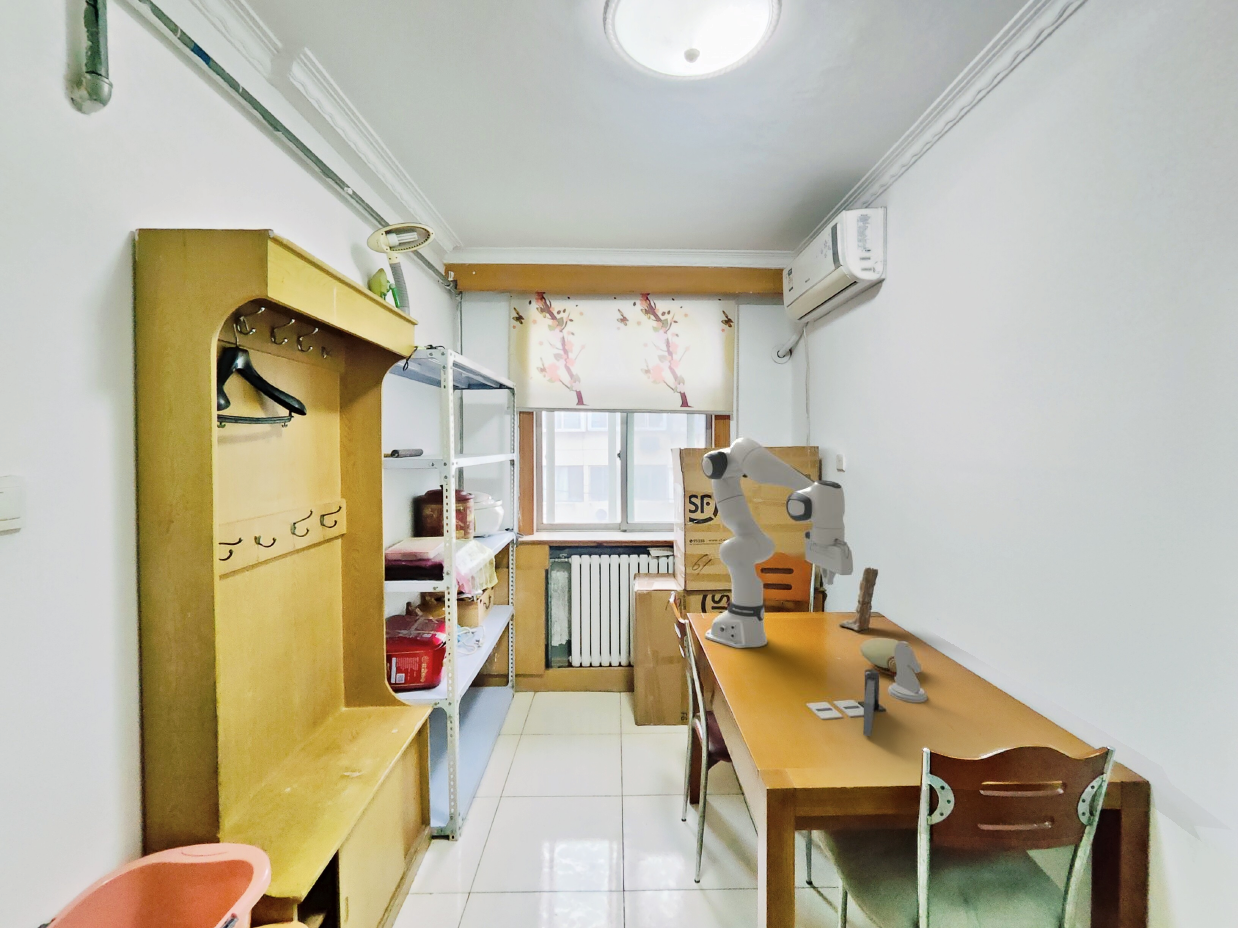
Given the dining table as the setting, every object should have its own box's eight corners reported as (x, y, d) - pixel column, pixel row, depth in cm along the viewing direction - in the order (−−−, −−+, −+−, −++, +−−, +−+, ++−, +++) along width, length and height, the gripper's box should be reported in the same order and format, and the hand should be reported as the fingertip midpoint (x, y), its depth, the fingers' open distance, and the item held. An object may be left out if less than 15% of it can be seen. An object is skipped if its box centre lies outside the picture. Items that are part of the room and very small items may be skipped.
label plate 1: (826, 703, 149) (826, 701, 149) (842, 717, 141) (842, 715, 141) (806, 704, 148) (806, 703, 148) (821, 719, 140) (821, 717, 140)
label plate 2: (853, 701, 150) (853, 699, 150) (870, 715, 142) (870, 713, 142) (833, 702, 149) (833, 701, 149) (849, 716, 141) (849, 715, 141)
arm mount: (874, 701, 149) (874, 700, 149) (885, 710, 144) (885, 708, 144) (857, 703, 149) (857, 701, 149) (868, 712, 144) (868, 710, 144)
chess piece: (909, 705, 148) (910, 651, 147) (880, 690, 157) (881, 639, 156) (935, 698, 151) (935, 646, 151) (904, 684, 160) (905, 635, 160)
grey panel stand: (864, 700, 149) (865, 668, 149) (879, 703, 147) (879, 671, 147) (859, 734, 132) (859, 698, 131) (875, 737, 130) (875, 701, 130)
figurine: (847, 625, 218) (853, 563, 220) (873, 631, 211) (879, 568, 213) (834, 626, 210) (840, 562, 212) (860, 633, 203) (867, 567, 205)
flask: (906, 660, 178) (925, 686, 160) (855, 657, 181) (868, 682, 163) (907, 633, 177) (926, 656, 160) (855, 630, 180) (869, 652, 163)
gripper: (859, 542, 147) (858, 592, 147) (819, 530, 167) (819, 574, 168) (838, 543, 146) (837, 593, 146) (801, 531, 166) (800, 575, 167)
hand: (827, 583), depth 157 cm, fingers closed
